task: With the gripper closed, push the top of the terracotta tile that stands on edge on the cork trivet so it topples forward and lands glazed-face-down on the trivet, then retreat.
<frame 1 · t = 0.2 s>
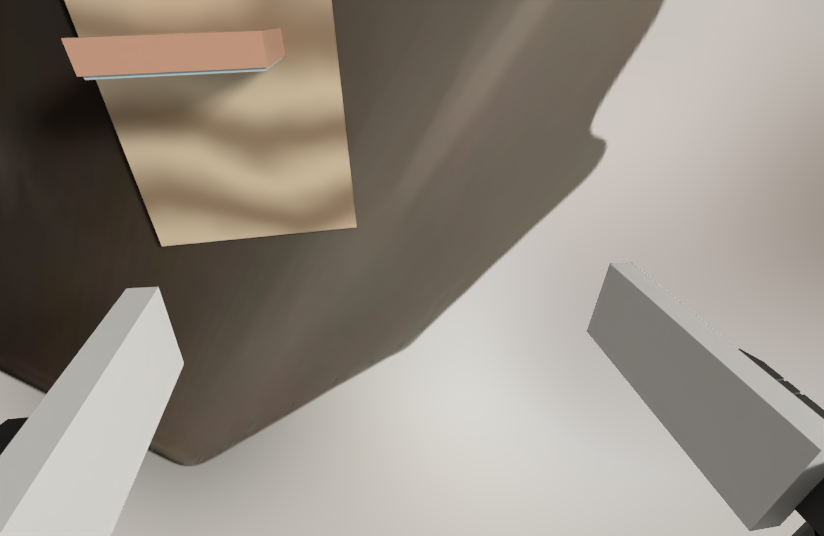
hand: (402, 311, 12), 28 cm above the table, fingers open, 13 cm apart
tile: (214, 46, 31), point 1 cm above the table, touching trivet
trivet: (236, 126, 34), on the table
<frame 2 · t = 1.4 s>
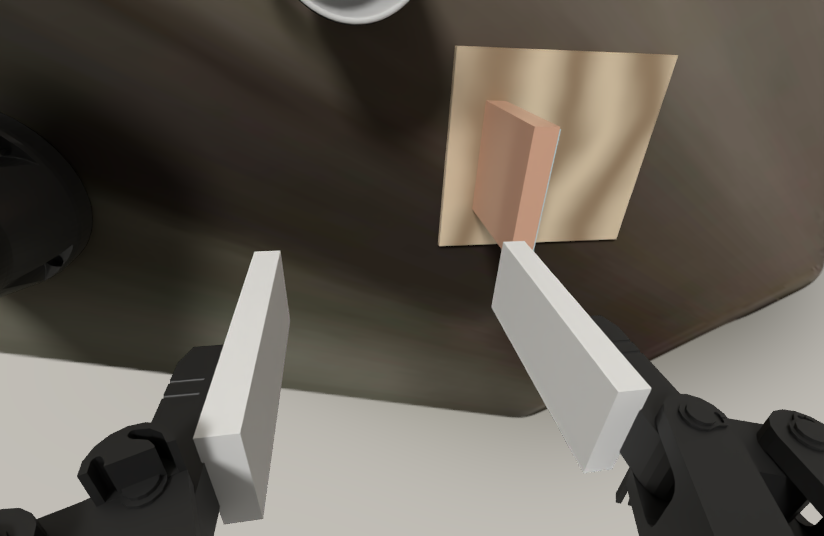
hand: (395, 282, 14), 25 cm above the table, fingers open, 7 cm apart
tile: (489, 158, 38), point 1 cm above the table, touching trivet
trivet: (546, 156, 39), on the table
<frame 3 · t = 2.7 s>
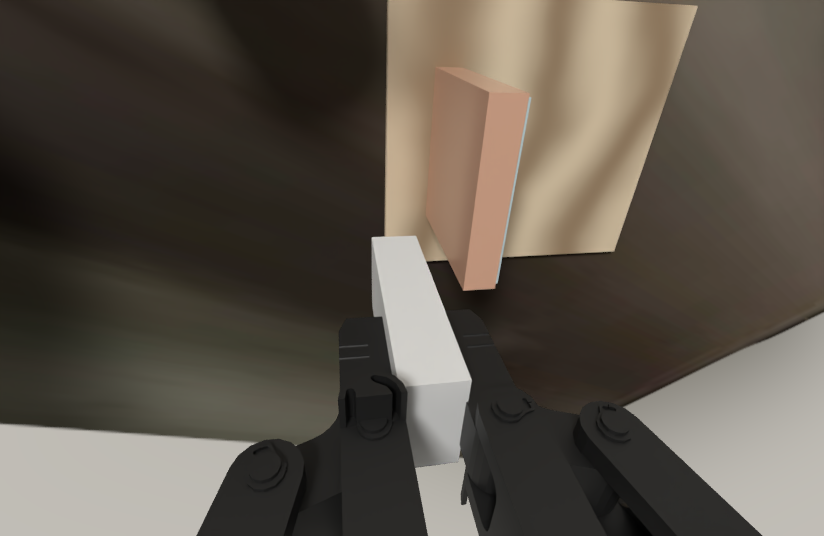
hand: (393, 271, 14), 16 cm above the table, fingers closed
tile: (444, 147, 28), point 1 cm above the table, touching trivet
trivet: (522, 145, 30), on the table
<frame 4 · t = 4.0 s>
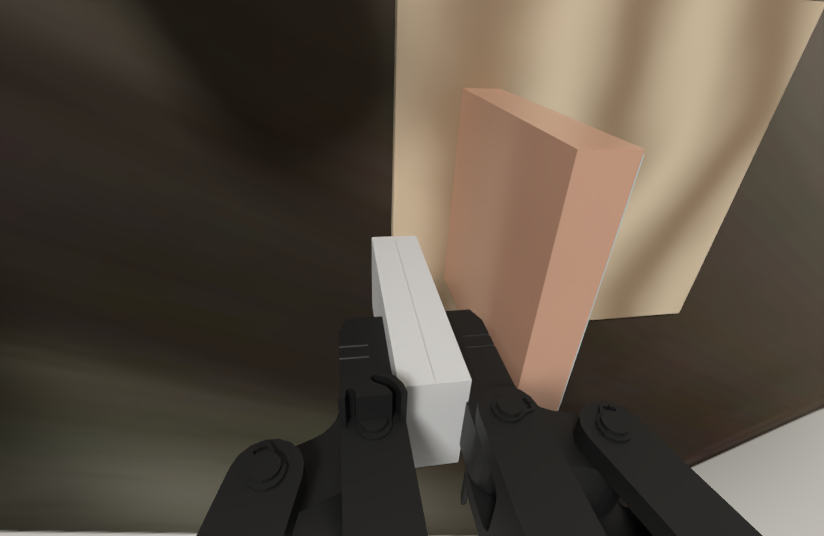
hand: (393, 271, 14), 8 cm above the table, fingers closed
tile: (471, 194, 21), point 1 cm above the table, touching trivet
trivet: (573, 187, 22), on the table
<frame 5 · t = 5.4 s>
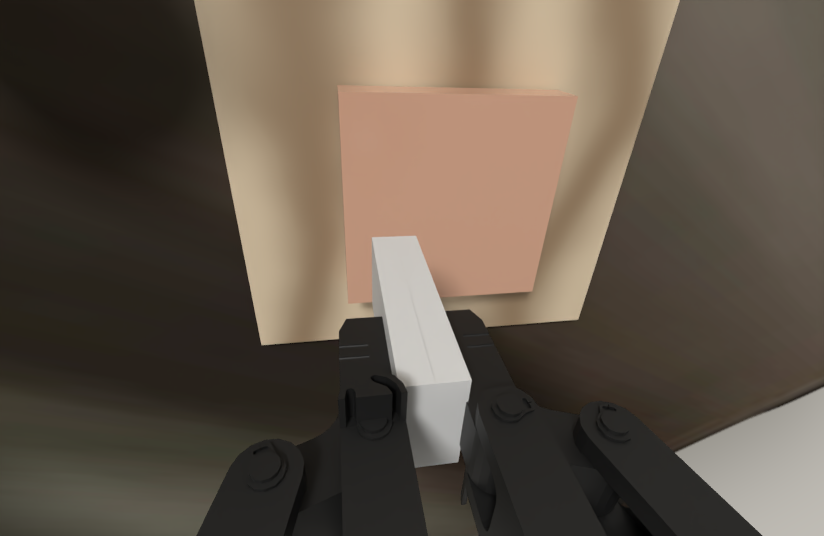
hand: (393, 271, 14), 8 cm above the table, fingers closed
tile: (343, 204, 19), point 2 cm above the table, tilted 90°, touching trivet
trivet: (439, 189, 21), on the table
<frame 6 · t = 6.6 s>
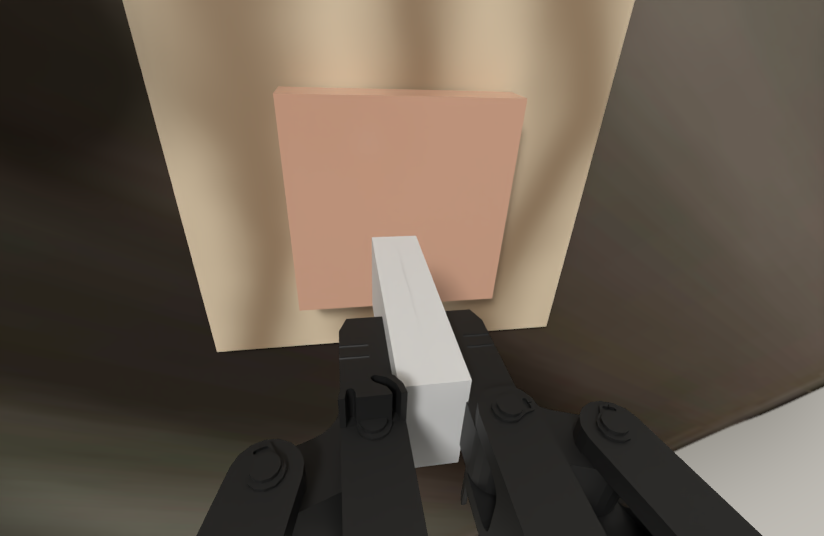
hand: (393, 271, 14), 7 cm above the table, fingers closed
tile: (290, 208, 19), point 2 cm above the table, tilted 90°, touching trivet
trivet: (394, 193, 21), on the table
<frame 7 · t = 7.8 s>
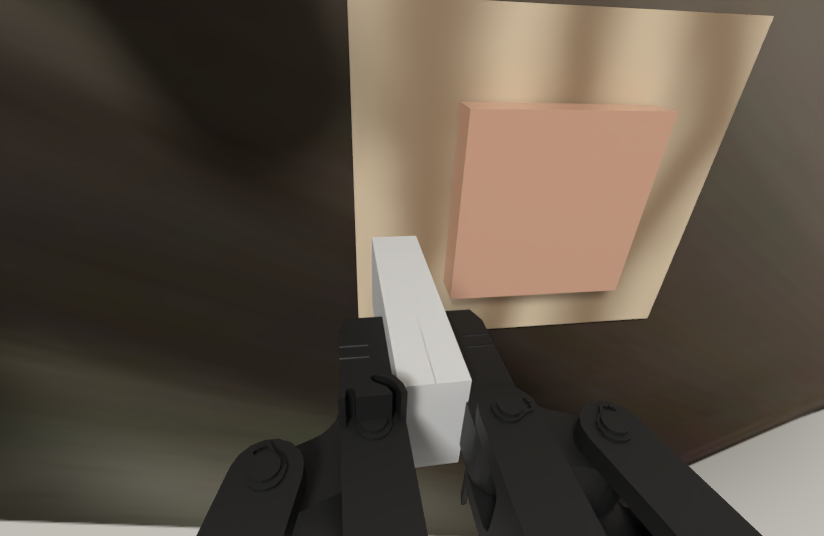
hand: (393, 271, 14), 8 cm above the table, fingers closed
tile: (454, 208, 21), point 2 cm above the table, tilted 90°, touching trivet
trivet: (533, 195, 23), on the table
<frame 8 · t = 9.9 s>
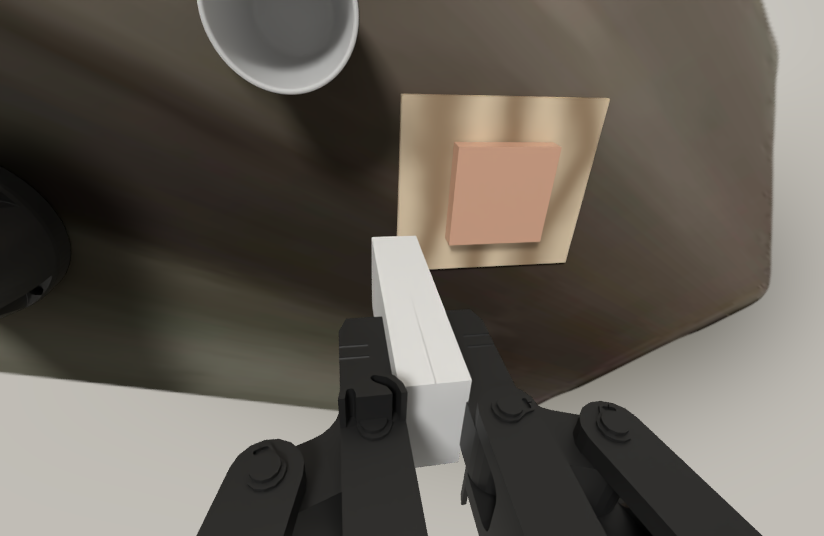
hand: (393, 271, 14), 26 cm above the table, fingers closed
tile: (451, 195, 40), point 2 cm above the table, tilted 90°, touching trivet
mug: (274, 6, 32), on the table
trivet: (493, 189, 42), on the table
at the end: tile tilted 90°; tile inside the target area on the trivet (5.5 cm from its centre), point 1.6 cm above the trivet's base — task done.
